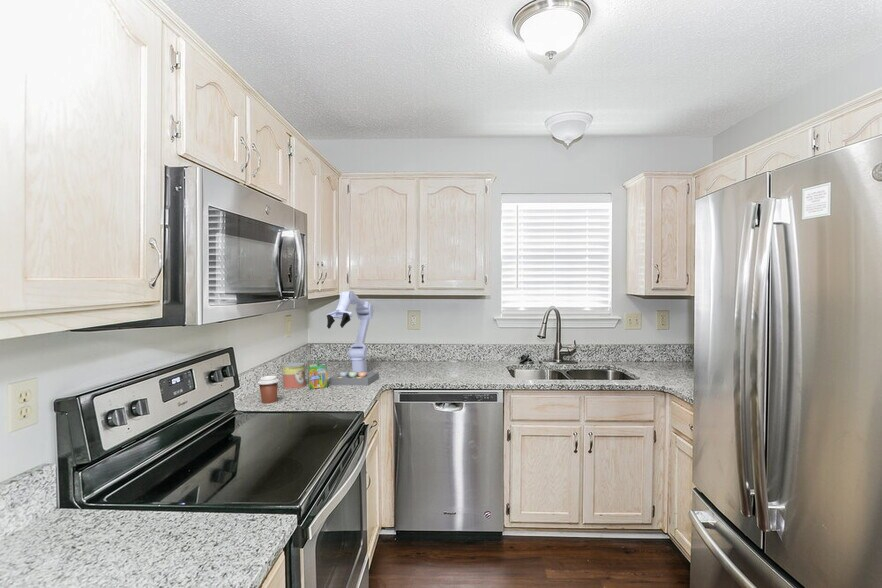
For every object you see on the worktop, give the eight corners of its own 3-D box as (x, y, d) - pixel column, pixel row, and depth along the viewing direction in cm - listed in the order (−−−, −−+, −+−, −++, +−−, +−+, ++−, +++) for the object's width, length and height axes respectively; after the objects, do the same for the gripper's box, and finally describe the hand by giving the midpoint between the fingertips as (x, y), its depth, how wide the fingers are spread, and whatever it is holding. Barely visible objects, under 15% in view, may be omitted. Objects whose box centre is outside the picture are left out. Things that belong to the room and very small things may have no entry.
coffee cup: (283, 400, 205) (282, 374, 205) (275, 405, 196) (273, 379, 196) (264, 400, 205) (262, 375, 205) (255, 406, 196) (253, 379, 196)
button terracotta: (360, 377, 239) (360, 371, 239) (367, 377, 238) (367, 371, 238) (357, 378, 235) (357, 373, 235) (364, 378, 234) (364, 373, 234)
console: (342, 378, 250) (342, 371, 250) (378, 378, 245) (378, 371, 245) (329, 384, 234) (329, 377, 234) (368, 385, 229) (367, 378, 229)
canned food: (293, 390, 225) (292, 367, 224) (278, 388, 230) (277, 365, 230) (310, 385, 234) (309, 363, 234) (295, 383, 240) (294, 361, 240)
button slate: (341, 376, 241) (341, 371, 241) (348, 376, 240) (348, 371, 240) (338, 378, 237) (338, 372, 237) (345, 378, 237) (345, 372, 236)
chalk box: (308, 386, 233) (306, 358, 233) (325, 384, 236) (324, 356, 236) (309, 389, 224) (308, 361, 224) (328, 387, 228) (326, 359, 227)
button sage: (351, 376, 240) (350, 371, 240) (357, 377, 239) (357, 371, 239) (348, 378, 236) (347, 372, 236) (354, 378, 235) (354, 373, 235)
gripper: (327, 304, 238) (319, 322, 229) (351, 302, 234) (344, 320, 225) (332, 312, 243) (325, 331, 234) (356, 310, 239) (349, 329, 230)
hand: (334, 326), depth 230 cm, fingers open, 7 cm apart
